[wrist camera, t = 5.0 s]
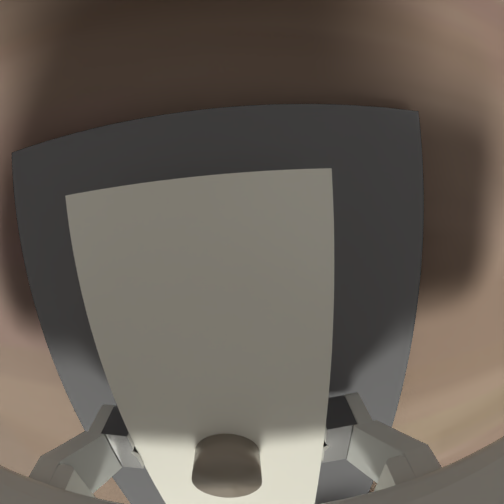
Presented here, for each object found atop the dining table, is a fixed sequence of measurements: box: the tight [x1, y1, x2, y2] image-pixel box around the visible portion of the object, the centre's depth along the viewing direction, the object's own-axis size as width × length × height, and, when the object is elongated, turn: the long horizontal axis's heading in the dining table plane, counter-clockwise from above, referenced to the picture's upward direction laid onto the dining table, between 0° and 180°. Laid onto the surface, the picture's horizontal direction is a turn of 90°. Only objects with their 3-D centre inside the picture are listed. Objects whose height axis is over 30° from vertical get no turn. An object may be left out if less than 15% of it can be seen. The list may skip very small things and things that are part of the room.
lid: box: [65, 168, 334, 504], centre depth 9 cm, size 6×16×4 cm, turn 4°
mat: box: [12, 104, 424, 504], centre depth 11 cm, size 14×20×1 cm
